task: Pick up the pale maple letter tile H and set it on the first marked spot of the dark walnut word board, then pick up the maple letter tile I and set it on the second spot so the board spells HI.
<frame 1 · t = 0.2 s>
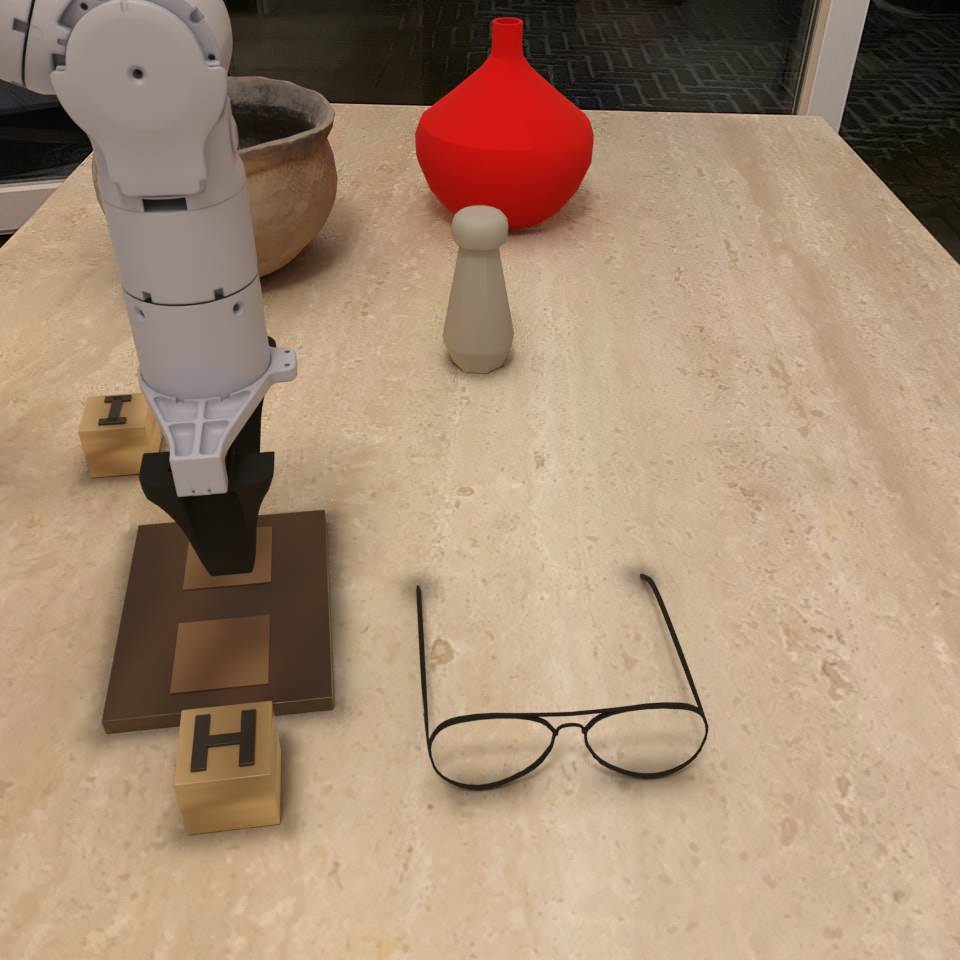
hand: (235, 518, 51), 10 cm above the table, tool pointing down, fingers open, 7 cm apart
salt shaker: (478, 362, 83), on the table
tile H: (236, 791, 50), on the table
glasses: (546, 674, 57), on the table
ceramic bowl: (233, 264, 97), on the table
vase: (502, 213, 107), on the table
word board: (228, 615, 60), on the table
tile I: (127, 457, 72), on the table
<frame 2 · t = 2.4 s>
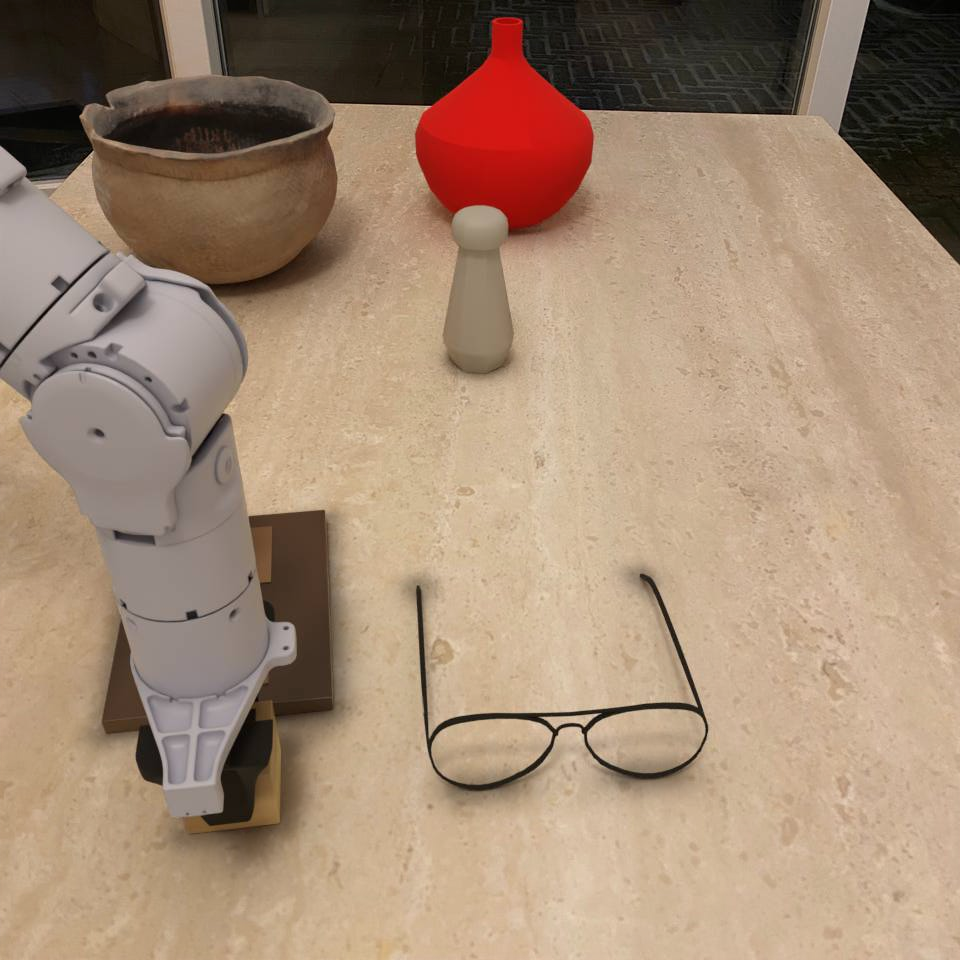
hand: (232, 774, 49), 1 cm above the table, tool pointing down, fingers closed on tile H, 4 cm apart
tile H: (236, 790, 50), on the table, touching gripper
everything else where it was.
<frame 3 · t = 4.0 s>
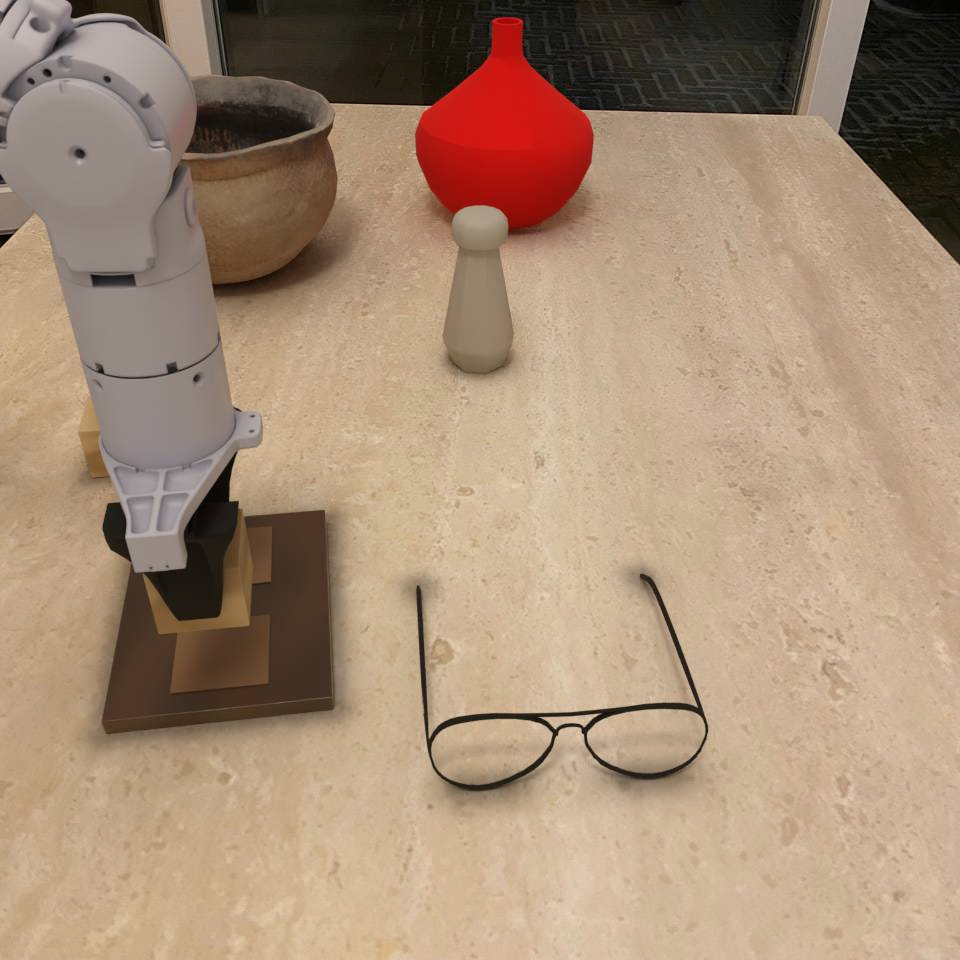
hand: (202, 579, 50), 8 cm above the table, tool pointing down, fingers closed on tile H, 4 cm apart
tile H: (207, 599, 51), point 7 cm above the table, touching gripper
everything else where it was.
when the fingers open (2 cm above the table, at t = 6.1 s): tile H stays where it is, resting on word board.
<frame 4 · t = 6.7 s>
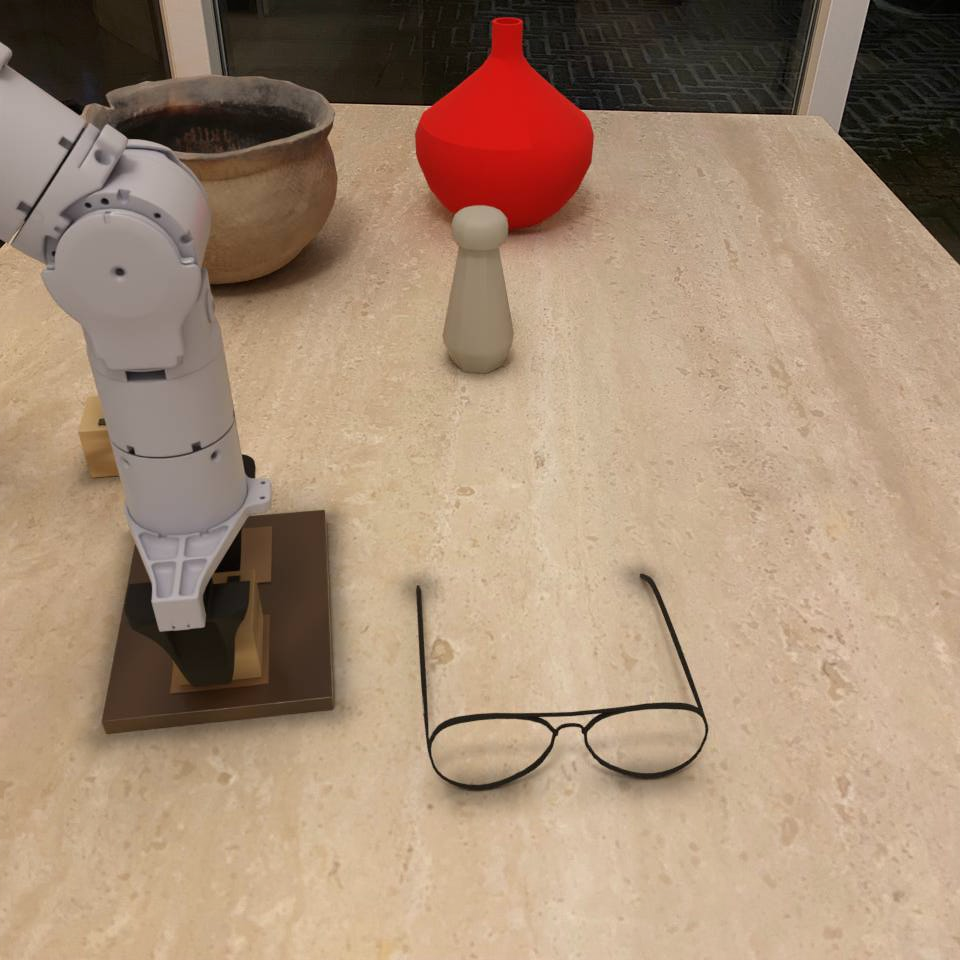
hand: (216, 626, 55), 3 cm above the table, tool pointing down, fingers open, 7 cm apart
tile H: (222, 651, 56), point 1 cm above the table, touching word board
everything else where it was.
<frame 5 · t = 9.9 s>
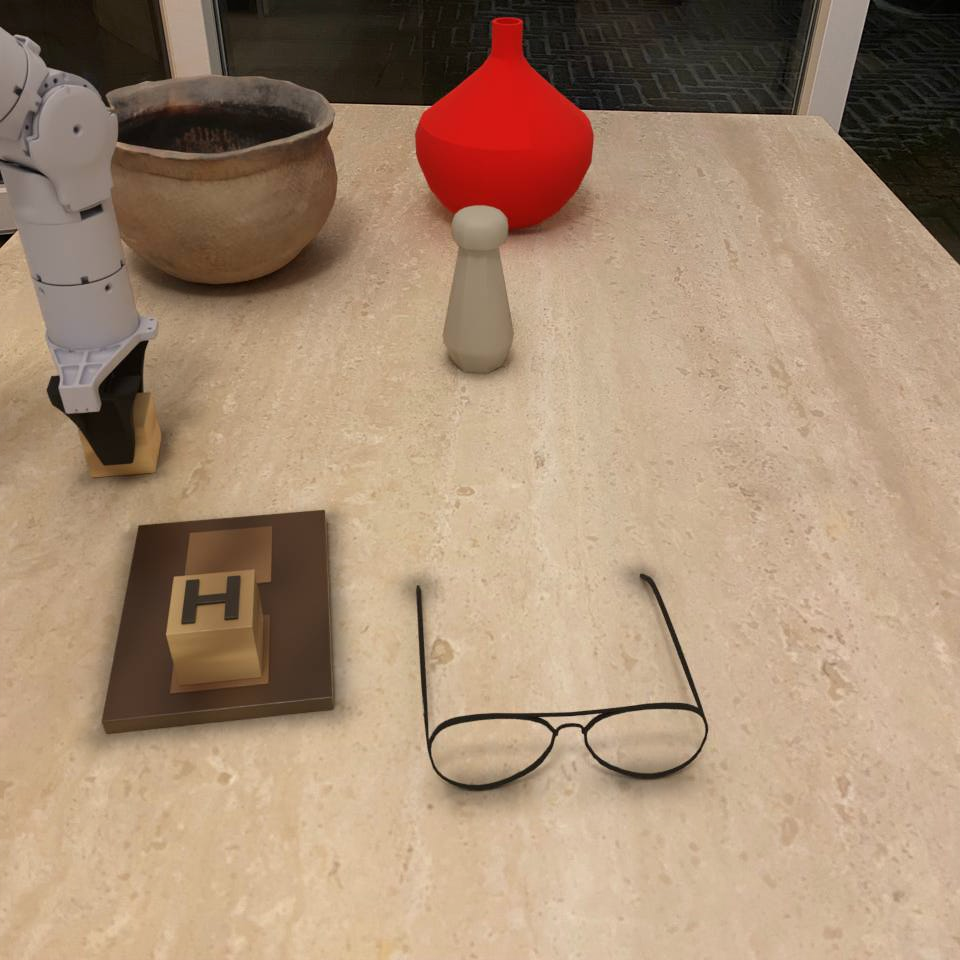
hand: (123, 441, 71), 1 cm above the table, tool pointing down, fingers closed on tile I, 4 cm apart
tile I: (127, 456, 72), on the table, touching gripper
everything else where it was.
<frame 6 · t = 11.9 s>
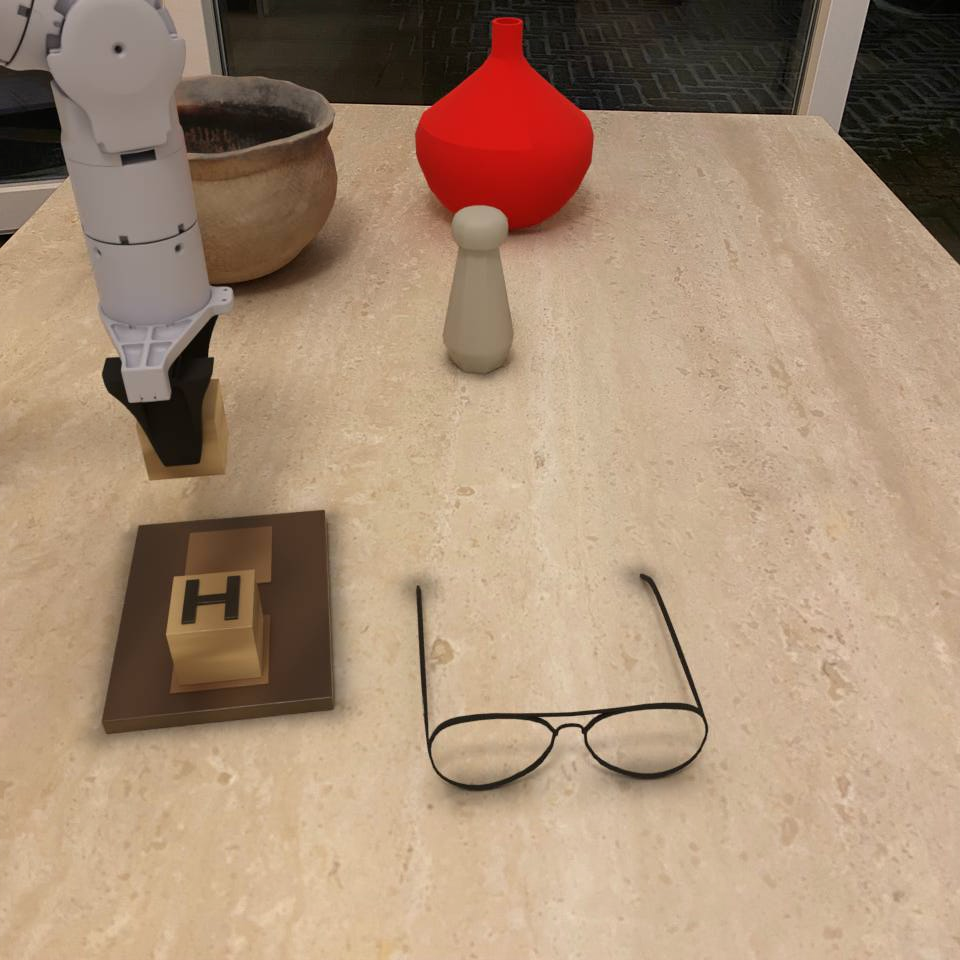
hand: (185, 437, 60), 8 cm above the table, tool pointing down, fingers closed on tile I, 4 cm apart
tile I: (190, 456, 61), point 7 cm above the table, touching gripper
everything else where it was.
when the fingers open (2 cm above the table, at t = 14.1 s): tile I stays where it is, resting on word board.
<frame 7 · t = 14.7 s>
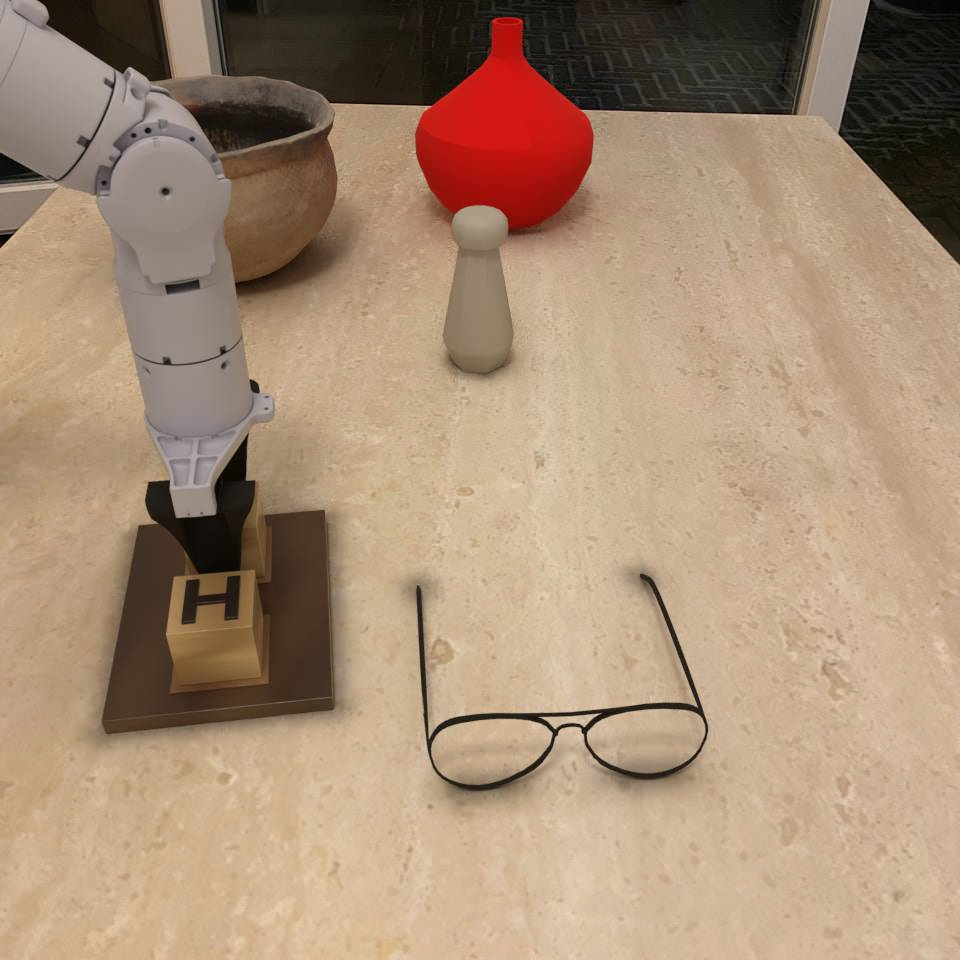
hand: (224, 532, 61), 3 cm above the table, tool pointing down, fingers open, 7 cm apart
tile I: (230, 556, 62), point 1 cm above the table, touching word board
everything else where it was.
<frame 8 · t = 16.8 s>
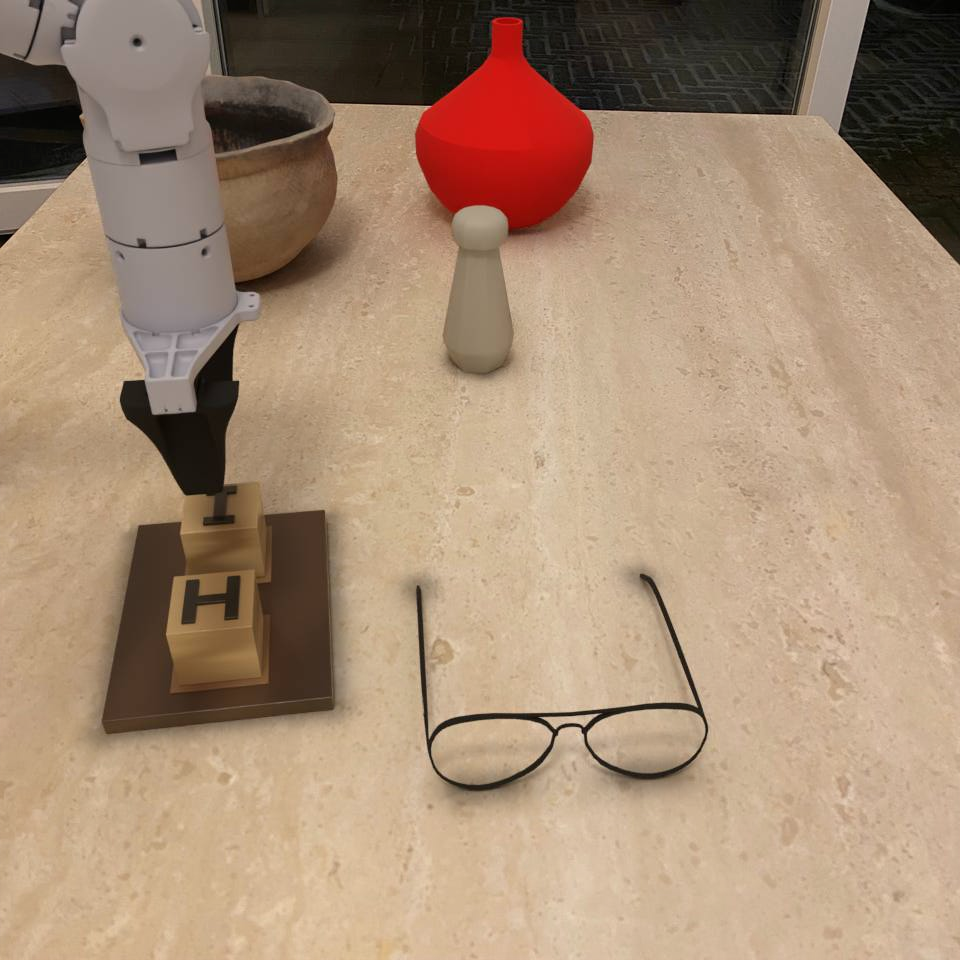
hand: (208, 449, 57), 9 cm above the table, tool pointing down, fingers open, 7 cm apart
nothing on the table moved.
at the end: tile H 0.0 cm from the target spot on the word board, point 1.1 cm above the word board's base; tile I 0.1 cm from the target spot on the word board, point 1.1 cm above the word board's base; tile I tilted 0° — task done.
